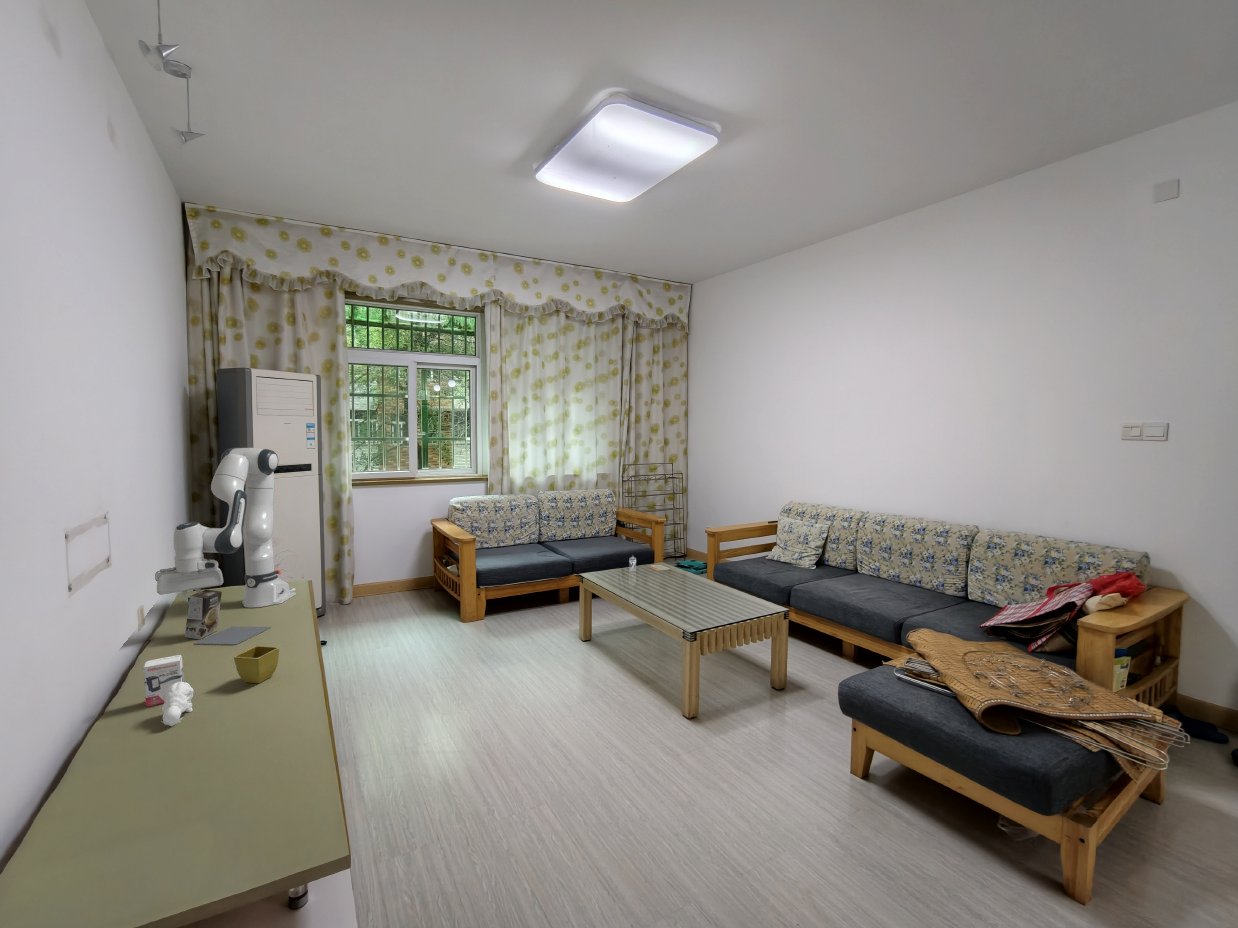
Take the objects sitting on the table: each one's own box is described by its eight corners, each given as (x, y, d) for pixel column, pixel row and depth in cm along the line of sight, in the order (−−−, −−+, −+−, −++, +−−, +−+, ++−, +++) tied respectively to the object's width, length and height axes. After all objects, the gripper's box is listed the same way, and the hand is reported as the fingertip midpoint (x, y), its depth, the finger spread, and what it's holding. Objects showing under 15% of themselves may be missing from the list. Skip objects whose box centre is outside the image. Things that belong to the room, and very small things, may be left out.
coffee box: (201, 639, 213) (206, 598, 212) (183, 637, 212) (189, 595, 211) (217, 630, 222) (222, 591, 221) (201, 628, 222) (206, 588, 220)
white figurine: (193, 676, 159) (182, 698, 148) (196, 704, 160) (185, 728, 149) (165, 681, 156) (152, 703, 145) (168, 710, 157) (155, 734, 147)
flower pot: (258, 687, 171) (257, 658, 170) (234, 685, 173) (232, 656, 172) (281, 674, 180) (280, 647, 179) (258, 672, 181) (256, 645, 181)
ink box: (145, 707, 160) (142, 666, 159) (147, 700, 164) (144, 660, 163) (183, 698, 164) (180, 659, 164) (184, 692, 168) (182, 653, 168)
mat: (231, 627, 226) (231, 626, 226) (271, 627, 224) (270, 626, 224) (193, 644, 208) (193, 643, 208) (235, 645, 206) (235, 644, 206)
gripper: (155, 571, 206) (157, 608, 207) (222, 562, 220) (224, 597, 221) (153, 568, 211) (156, 605, 211) (220, 559, 225) (222, 594, 225)
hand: (191, 601), depth 216 cm, fingers closed
